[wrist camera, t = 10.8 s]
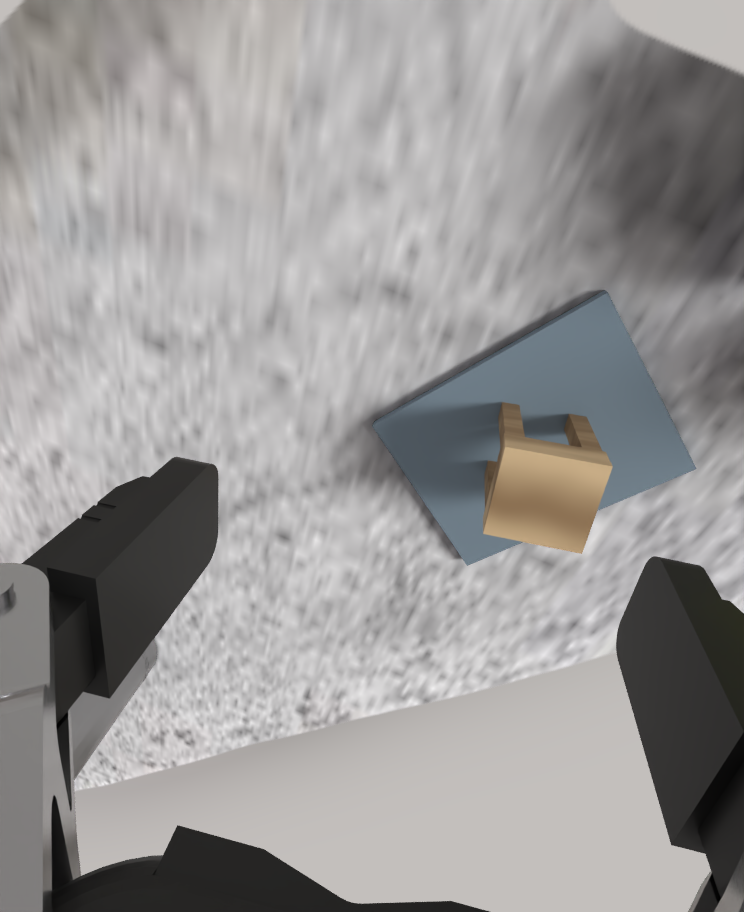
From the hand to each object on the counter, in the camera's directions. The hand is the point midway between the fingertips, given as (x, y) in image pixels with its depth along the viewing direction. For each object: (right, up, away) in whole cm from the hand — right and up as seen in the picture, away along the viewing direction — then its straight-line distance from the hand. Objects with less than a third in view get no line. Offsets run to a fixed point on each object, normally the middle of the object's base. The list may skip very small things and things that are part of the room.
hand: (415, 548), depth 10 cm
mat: (+11, +3, +31) cm, 32 cm away
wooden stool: (+11, +2, +30) cm, 32 cm away
